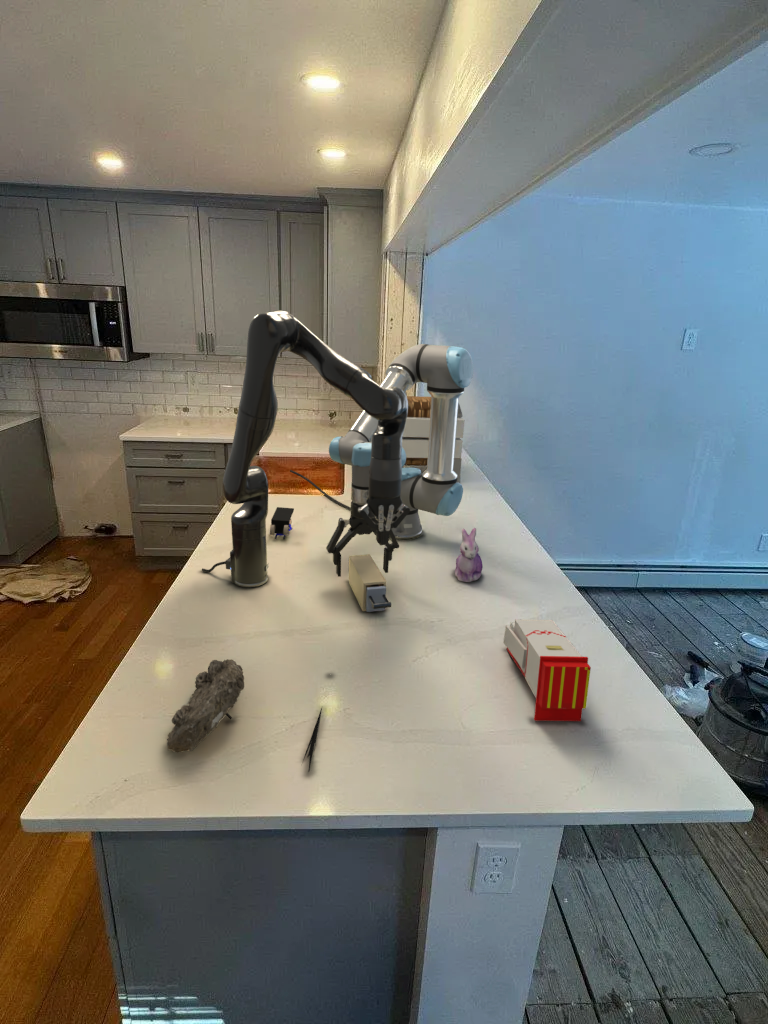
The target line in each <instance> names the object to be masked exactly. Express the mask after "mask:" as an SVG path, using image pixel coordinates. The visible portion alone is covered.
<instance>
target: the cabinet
mask: <svg viewBox="0 0 768 1024" xmlns="http://www.w3.org/2000/svg"><path fill="white" fill-rule="evenodd" d="M347 581H348V584H349V586H350V588H351V590H352V592H353V594H354V596H355V599H356V600H357V603H358V604H359V606H360V609H361V611H362V612H367V611H366V585H376V584H381V586H385V587H386V588H387V580H386V578H385V576H384V575H383V573H382V571H381V570H380V568H379V567H378V565H377V564H376V562H375V560H374V559H373V557H372V555H371V554H370V553H367V554H354V555H348V580H347Z"/></svg>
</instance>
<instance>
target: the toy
mask: <svg viewBox="0 0 768 1024" xmlns="http://www.w3.org/2000/svg"><path fill="white" fill-rule="evenodd" d="M503 644H504V645H505V647H506V650H507V653H508V654H509V656H510V657H511V658H512V660H513V662H514V663H515V665H516V667H517V668H518V669H519V671H520V672H521V674H522V676H523V677H524V678H525V681H526V683H527V684H528V686H529V688H530V690H531V692H532V694H533V695H534V697H535V706H534V717H533V720H534V721H536V722H539V721H540V722H582V716H583V715H582V714H583V709H587V704H588V703H587V701H588V695H589V685H590V677H591V669H592V666H590V664H589V657H588V656H582V654H581V653H580V652H579V651H578V649H576V647H575V646H574V645H573V643H572V642H571V641H570V640H569V639H568V637H567V636H566V635H565V634H564V633H563V631H562V630H561V629H560V628H559V626H558V625H557V624H556V623H555V621H554V620H553V619H524V618H523V619H521V618H518V619H516V618H515V619H514V621H510V622H509V624H506V625H505V629H504V637H503Z"/></svg>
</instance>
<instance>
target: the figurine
mask: <svg viewBox="0 0 768 1024" xmlns="http://www.w3.org/2000/svg"><path fill="white" fill-rule="evenodd" d="M476 536H477V528H476V527H474V528H472V529H471V531H470V533H469V534H468V532H467V530H466V529H465V528H462V529H461V544H460V546H459V552H460V554H459V555H458V556H457V557H456V560H455V569H454V576H455V577H456V578H457V580H458V581H460V582H465V583H471V582H473V581H477V580H478V579H480V578H481V575H482V572H483V568H484V567H483V560H482V557H481V555H480V554H479V551H480V549H479V545H478V543H477V540H476Z"/></svg>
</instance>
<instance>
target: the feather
mask: <svg viewBox="0 0 768 1024" xmlns="http://www.w3.org/2000/svg"><path fill="white" fill-rule="evenodd" d="M329 675H330V676H331V675H332V674H331V673H330V674H329ZM322 710H323V707H321V708H320V710H319V713H318V716H317V719H316V723H315V725H314V728H313V731H312V733H311V737H310V739H309V742H308V745H307V748H306V751H305V754H304V757H303V760H302V763H301V767H302V765H303V763H304V761H305V758H308V759H309V760H308V762H307V763H308V764H307V766H308V771H310V770H311V766H312V765H311V764H312V760H313V757H315V756H314V755H315V751H316V749H315V746H317V739H318V733H319V729H320V722H321V717H322V712H323V711H322ZM313 754H314V755H313ZM306 755H307V757H306Z"/></svg>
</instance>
